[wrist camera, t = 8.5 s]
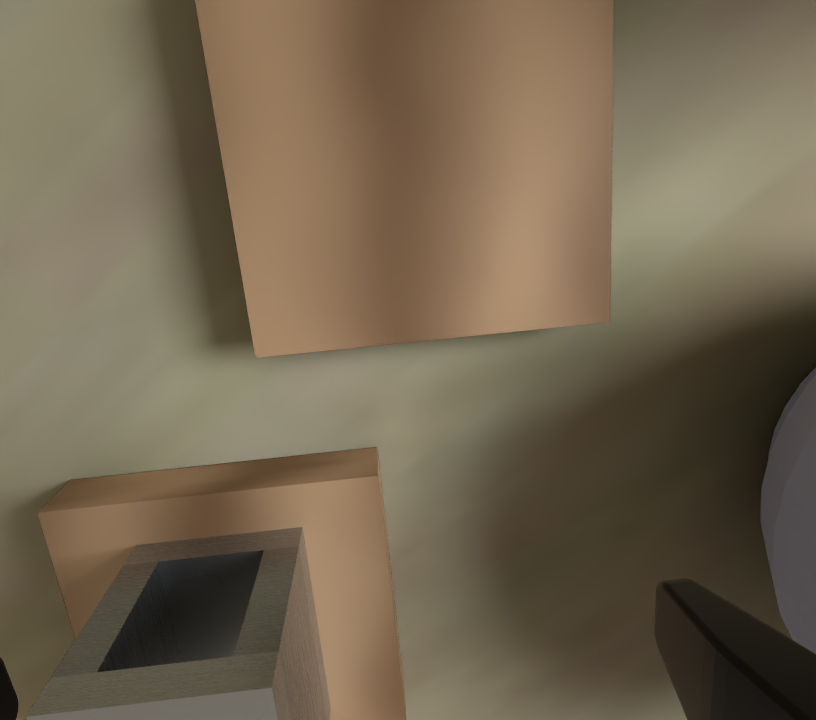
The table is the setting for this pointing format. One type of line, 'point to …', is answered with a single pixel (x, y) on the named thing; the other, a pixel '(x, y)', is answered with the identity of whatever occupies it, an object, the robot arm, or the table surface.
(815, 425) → the bowl
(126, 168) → the table surface
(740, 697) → the robot arm
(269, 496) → the stand
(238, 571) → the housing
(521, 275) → the stand
